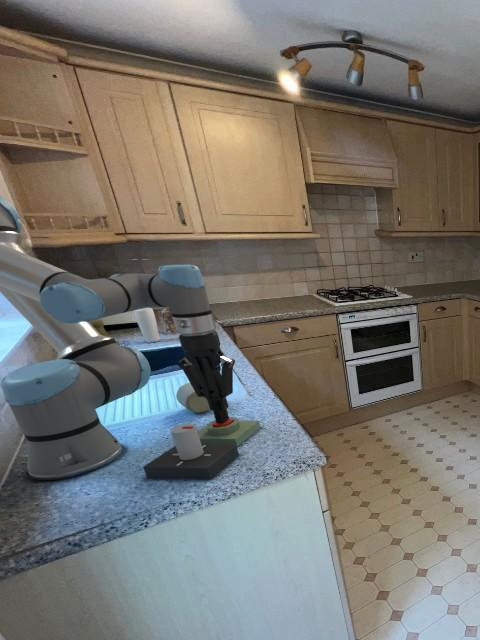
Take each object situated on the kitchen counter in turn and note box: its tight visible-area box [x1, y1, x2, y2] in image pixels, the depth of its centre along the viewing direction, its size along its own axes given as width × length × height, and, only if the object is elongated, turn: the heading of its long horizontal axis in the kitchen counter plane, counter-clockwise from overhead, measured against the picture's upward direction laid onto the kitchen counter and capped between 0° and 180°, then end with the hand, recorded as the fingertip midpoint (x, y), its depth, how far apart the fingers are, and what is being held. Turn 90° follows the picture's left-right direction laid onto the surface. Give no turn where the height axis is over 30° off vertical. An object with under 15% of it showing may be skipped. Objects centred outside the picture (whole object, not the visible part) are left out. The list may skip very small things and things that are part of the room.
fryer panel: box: [142, 444, 240, 480], centre depth 93 cm, size 14×10×3 cm
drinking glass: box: [132, 307, 161, 344], centre depth 183 cm, size 7×7×15 cm
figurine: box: [160, 308, 179, 335], centre depth 200 cm, size 7×7×12 cm
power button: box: [213, 418, 233, 427], centre depth 105 cm, size 4×4×2 cm
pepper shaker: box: [89, 318, 110, 337], centre depth 178 cm, size 6×6×11 cm
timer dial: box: [170, 423, 204, 460], centre depth 91 cm, size 4×4×7 cm
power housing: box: [197, 416, 261, 447], centre depth 106 cm, size 12×10×4 cm
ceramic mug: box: [176, 382, 211, 414], centre depth 121 cm, size 11×8×8 cm
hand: (222, 420), depth 105 cm, fingers closed
